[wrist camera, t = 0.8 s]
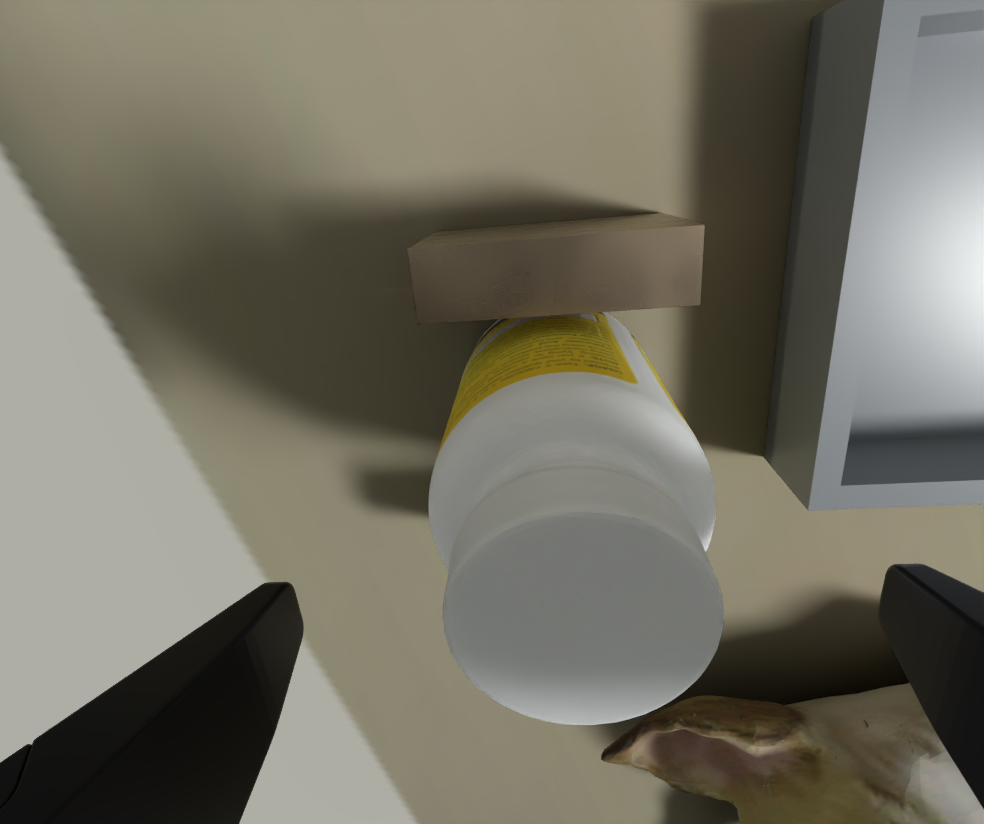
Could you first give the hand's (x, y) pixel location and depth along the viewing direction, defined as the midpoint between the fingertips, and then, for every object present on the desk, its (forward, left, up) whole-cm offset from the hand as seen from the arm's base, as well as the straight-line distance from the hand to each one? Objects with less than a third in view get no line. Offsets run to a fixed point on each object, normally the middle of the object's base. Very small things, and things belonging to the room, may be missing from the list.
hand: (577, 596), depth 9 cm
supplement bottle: (0, 0, -9) cm, 9 cm away
